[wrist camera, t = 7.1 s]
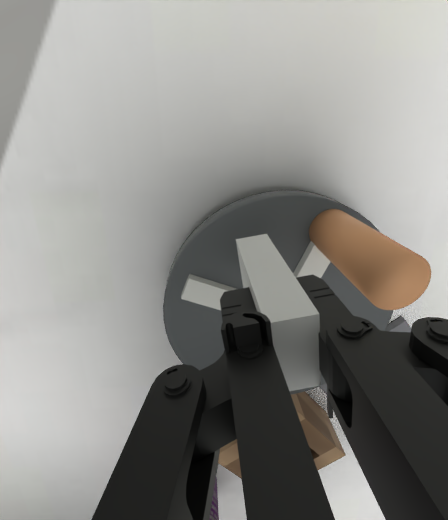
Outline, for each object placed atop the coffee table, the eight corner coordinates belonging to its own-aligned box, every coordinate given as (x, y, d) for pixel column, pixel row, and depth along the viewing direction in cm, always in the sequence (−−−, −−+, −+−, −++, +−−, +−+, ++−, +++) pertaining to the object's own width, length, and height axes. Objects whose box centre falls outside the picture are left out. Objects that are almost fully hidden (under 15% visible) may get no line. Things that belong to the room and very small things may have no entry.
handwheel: (139, 354, 21) (109, 470, 14) (214, 148, 16) (228, 166, 8) (315, 396, 24) (364, 507, 17) (427, 239, 19) (564, 306, 12)
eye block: (260, 451, 29) (269, 496, 26) (209, 413, 27) (210, 458, 23) (326, 412, 28) (345, 455, 24) (279, 367, 25) (293, 408, 21)
